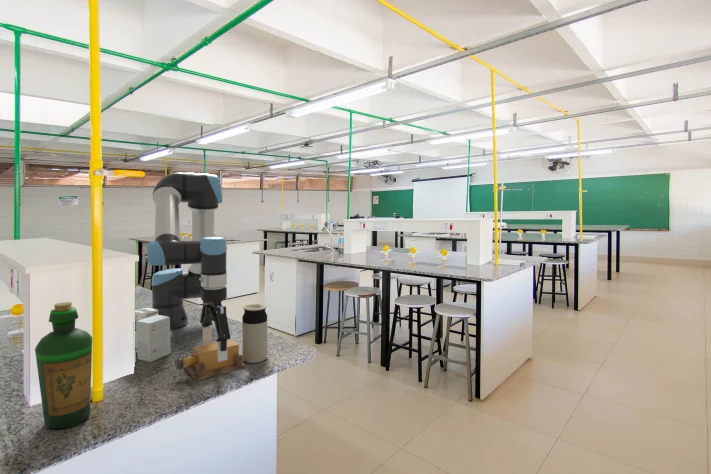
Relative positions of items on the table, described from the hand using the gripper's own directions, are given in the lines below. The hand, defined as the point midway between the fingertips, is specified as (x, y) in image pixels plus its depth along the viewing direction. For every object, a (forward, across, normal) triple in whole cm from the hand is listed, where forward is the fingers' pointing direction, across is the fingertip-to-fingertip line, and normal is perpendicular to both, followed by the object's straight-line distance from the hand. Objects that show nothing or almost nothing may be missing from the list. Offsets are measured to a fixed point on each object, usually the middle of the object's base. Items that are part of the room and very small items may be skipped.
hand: (214, 353), depth 118 cm
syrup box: (+5, -28, -14) cm, 31 cm away
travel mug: (+5, +1, +13) cm, 14 cm away
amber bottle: (+4, 0, -2) cm, 4 cm away
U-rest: (+5, 0, 0) cm, 5 cm away
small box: (+5, -21, -13) cm, 25 cm away
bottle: (+5, +8, -37) cm, 38 cm away
